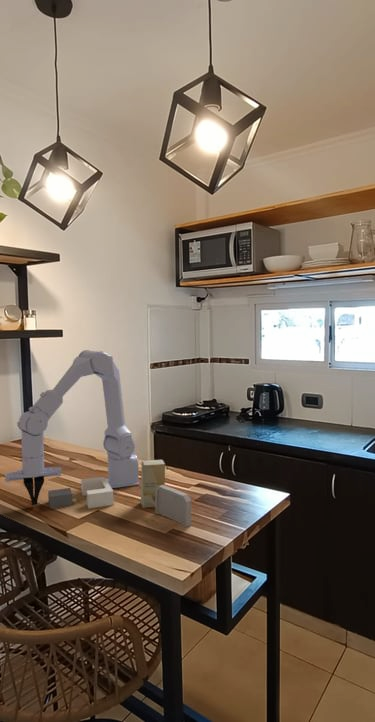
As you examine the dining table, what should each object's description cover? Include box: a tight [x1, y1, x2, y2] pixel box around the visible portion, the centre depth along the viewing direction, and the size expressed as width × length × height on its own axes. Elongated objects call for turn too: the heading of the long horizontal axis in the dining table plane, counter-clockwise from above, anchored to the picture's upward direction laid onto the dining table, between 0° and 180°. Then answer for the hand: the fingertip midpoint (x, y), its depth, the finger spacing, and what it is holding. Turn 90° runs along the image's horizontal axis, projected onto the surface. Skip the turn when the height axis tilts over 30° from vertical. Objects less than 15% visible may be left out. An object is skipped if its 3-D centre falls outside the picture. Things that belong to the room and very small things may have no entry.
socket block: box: [80, 476, 115, 509], centre depth 131 cm, size 7×13×4 cm, turn 22°
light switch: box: [154, 485, 192, 528], centre depth 117 cm, size 2×12×8 cm, turn 45°
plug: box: [47, 487, 77, 509], centre depth 127 cm, size 7×5×4 cm
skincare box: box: [140, 459, 166, 508], centre depth 126 cm, size 6×4×12 cm
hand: (34, 503), depth 124 cm, fingers closed
